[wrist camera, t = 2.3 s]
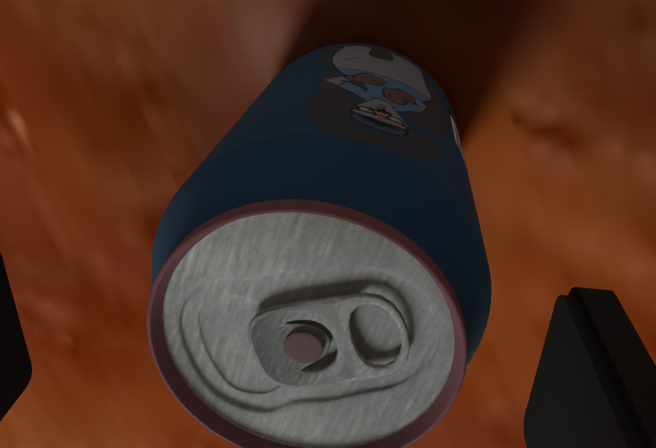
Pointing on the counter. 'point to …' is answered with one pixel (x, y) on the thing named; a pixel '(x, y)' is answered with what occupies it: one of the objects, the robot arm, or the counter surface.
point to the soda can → (324, 262)
